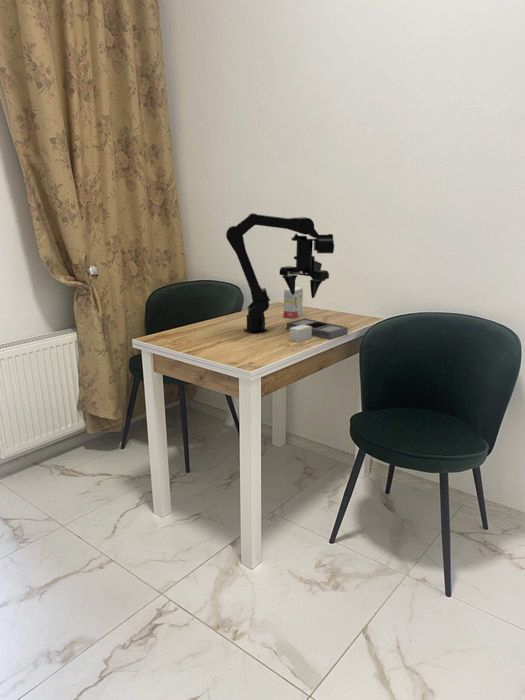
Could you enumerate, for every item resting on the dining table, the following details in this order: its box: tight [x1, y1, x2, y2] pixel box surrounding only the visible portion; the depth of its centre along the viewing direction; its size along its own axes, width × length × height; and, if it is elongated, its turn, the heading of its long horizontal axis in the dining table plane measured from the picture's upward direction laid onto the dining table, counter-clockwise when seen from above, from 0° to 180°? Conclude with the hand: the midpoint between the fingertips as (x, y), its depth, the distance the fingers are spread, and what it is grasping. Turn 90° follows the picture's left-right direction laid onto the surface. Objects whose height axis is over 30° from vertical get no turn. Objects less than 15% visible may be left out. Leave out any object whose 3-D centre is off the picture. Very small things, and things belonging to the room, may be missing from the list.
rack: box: [286, 317, 349, 340], centre depth 183 cm, size 11×20×3 cm, turn 45°
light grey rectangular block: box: [289, 325, 312, 343], centre depth 174 cm, size 7×4×4 cm, turn 135°
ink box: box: [283, 286, 304, 319], centre depth 207 cm, size 9×5×12 cm, turn 149°
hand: (302, 296), depth 182 cm, fingers open, 9 cm apart
